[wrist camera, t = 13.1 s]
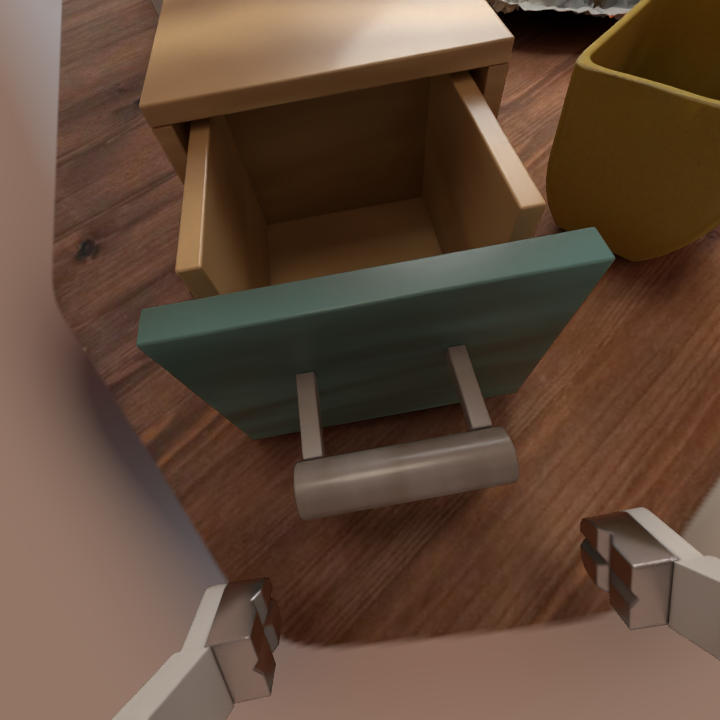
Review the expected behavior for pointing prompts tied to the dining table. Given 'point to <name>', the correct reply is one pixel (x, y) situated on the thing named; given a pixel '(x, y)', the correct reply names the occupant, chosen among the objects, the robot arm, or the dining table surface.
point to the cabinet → (308, 55)
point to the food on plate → (569, 6)
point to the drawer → (367, 282)
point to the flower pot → (643, 132)
